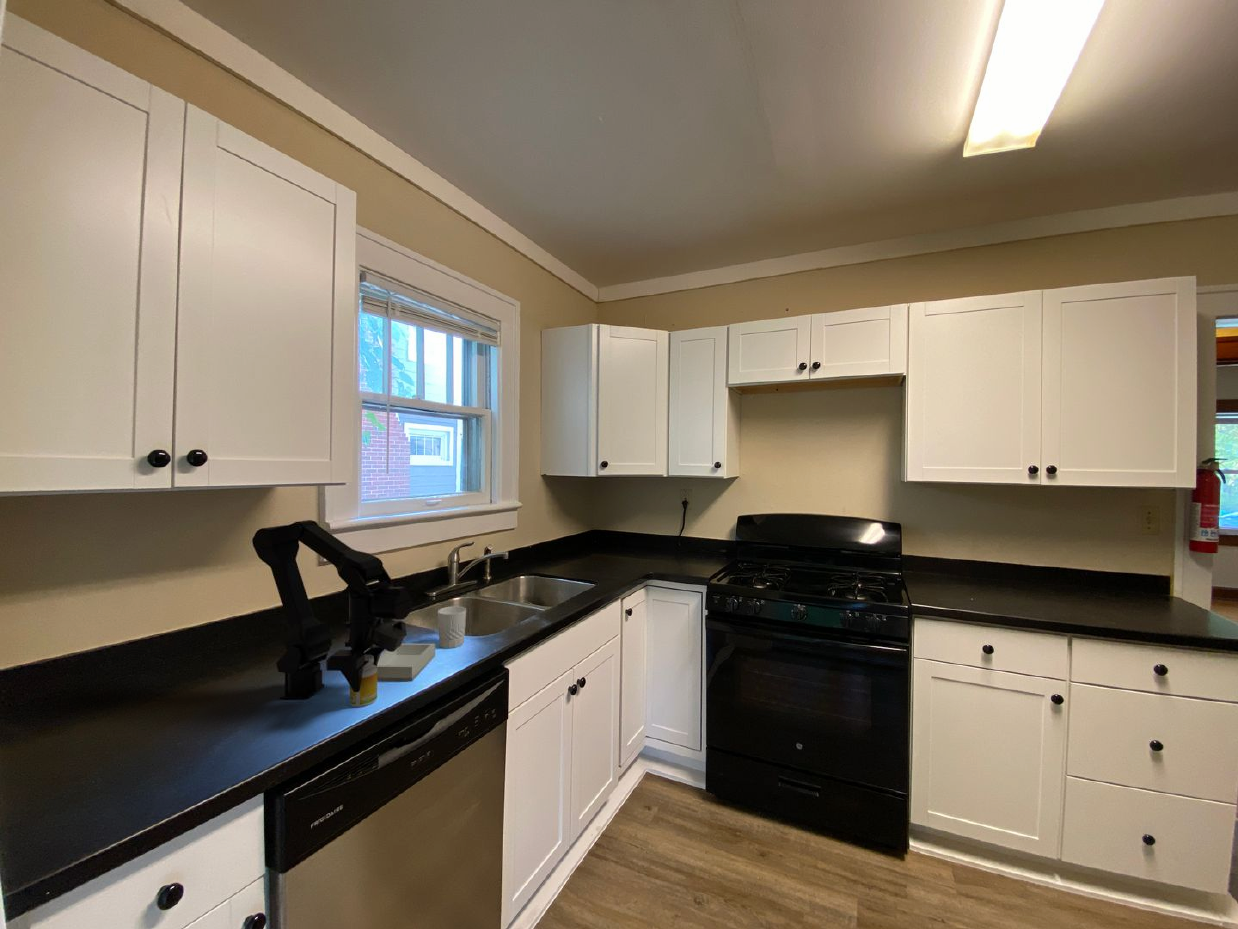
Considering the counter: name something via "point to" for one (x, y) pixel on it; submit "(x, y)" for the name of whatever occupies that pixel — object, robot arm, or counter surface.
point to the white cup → (451, 626)
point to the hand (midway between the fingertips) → (363, 685)
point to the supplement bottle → (366, 685)
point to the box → (404, 662)
